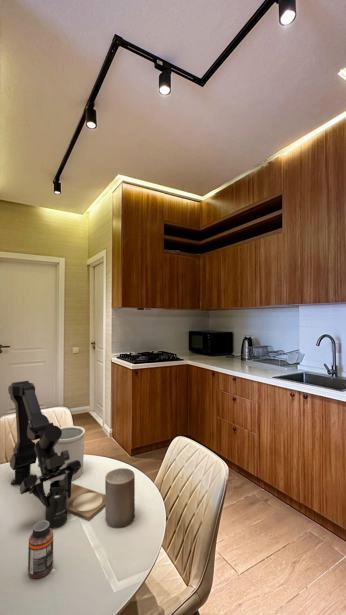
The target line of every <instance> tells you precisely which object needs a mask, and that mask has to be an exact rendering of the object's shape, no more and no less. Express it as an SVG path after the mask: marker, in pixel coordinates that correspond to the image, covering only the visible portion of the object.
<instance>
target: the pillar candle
mask: <svg viewBox="0 0 346 615" xmlns="http://www.w3.org/2000/svg"><path fill="white" fill-rule="evenodd" d="M135 475H136V474H135V472H134V471H133V470H131V469H130V468H127V467H126V468H125V467H123V468H122V467H120V468H115V469H113V470H109V471H108V472H107V473H106V475H105V477H104V478H105V480H104V481H105V483H104V484H105V485H104V488H105V507H104V508H105V509H104V510H105V512H104V514H105V517H104V520H105V523H106V525H108V526H109V527H110V528H114V529H120V528H124V527H127V526H128V525H131V524H132V523H133V522H134V521H135V517H136V513H135V510H136V509H135V506H136V505H135V501H136V500H135V494H136V493H135V492H136V491H135V490H136V488H135V486H136V484H135V483H136V481H135V480H136V479H135Z"/></svg>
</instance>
